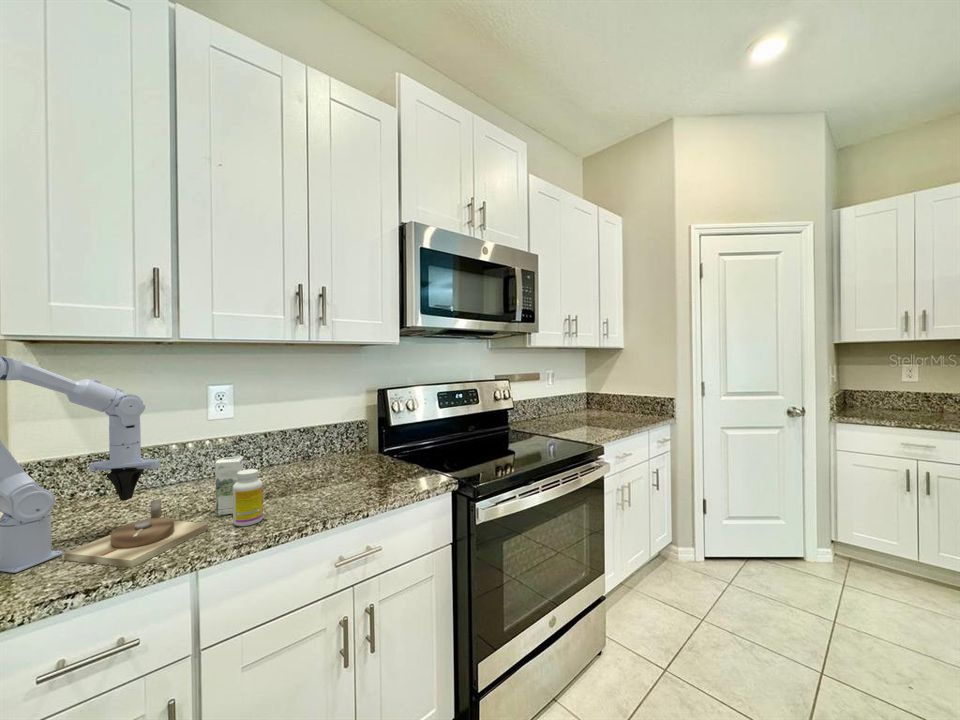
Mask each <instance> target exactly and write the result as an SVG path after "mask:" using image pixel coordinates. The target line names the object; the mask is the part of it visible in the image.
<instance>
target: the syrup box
mask: <svg viewBox="0 0 960 720" xmlns="http://www.w3.org/2000/svg"><path fill="white" fill-rule="evenodd" d="M214 466H215V467H214V470H215V472H214V473H215V475H214V476H215V516H216V517H221V515H222V516H229V515H228V514H231V515H233V485H234V484H235V483H236V482H238V479H237V472H239V471H242V470H244V456H241V455H240V456H231V457H229V456H227V457H220V458H218V459H217V460H216V461H215V463H214Z"/></svg>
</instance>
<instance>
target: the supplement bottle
mask: <svg viewBox="0 0 960 720" xmlns="http://www.w3.org/2000/svg"><path fill="white" fill-rule="evenodd" d="M258 476H259V470H258V469H254V468H251V469H250V468H249V469H243V470H242V471H239V472H237V479H238V482H236V483H235V484H234V485H233V514H232V523H233V524H234V525H235V526H237V527H247V526H251V525H255V524H258V523H259V522H260V523H261V521H262V520H263V518H264V497H263V496H264V494H263V493H264V492H263V491H264V490H263V488H264V487H263V481H262V480H261V479H259V478H258Z"/></svg>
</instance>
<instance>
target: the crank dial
mask: <svg viewBox="0 0 960 720" xmlns="http://www.w3.org/2000/svg"><path fill="white" fill-rule="evenodd" d="M174 521H175V520H174V519H173V518H171V517H165V516H164V517H162V499H154V500H151V501H150V518H145V519H141V520H136V521H133V522H130V523H126V524H123V525H122V526H120V527H117V528H115V529H114V530H112V531H111V532H110V535H111V545H112V546H113V547H119V548H124V547H134V546H140V545H144V544H148V543H152V542H155V541H158V540H160V539H163V538H165V537H167V536H169V535H170V534H172V533H173V532H174Z"/></svg>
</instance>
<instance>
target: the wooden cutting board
mask: <svg viewBox="0 0 960 720" xmlns="http://www.w3.org/2000/svg"><path fill="white" fill-rule="evenodd" d="M206 530H207V531H209V523H204V522H194V521H193V522H192V521H183V520H182V521H181V520H174V532H173V533H172V534H170V535H169V536H167V537H165V538H163V539H160V540H158V541H155V542H152V543H148V544H144V545H140V546H134V547H124V548H119V547H113V546H112V545H111V534H109V535H107V536H104V537H101V538H99V539H96V540H94V541H91V542H88V543H86V544H83V545H82V546H78V547H76V548H74V549H71V550H68V551H66V552H63V554H64V557H63V558H64V561H68V562H76V561H77V563H84V562H85V563H86V564H93V563H99V564H98V565H102V564H111V565H117V566H116V567H119V566H121V568H129V569H130V568H131V569H132V568H134V567H136V566H137V565H140V564H142V563H143V562H147V561H148V560H150V559H153V558H154V557H156V556H158V555H161V554H162V553H164V552H167V551H168V550H171V549H172V548H174V547H176V546H178V544H179V545H180V543H181V544H182V542H183V543H184V541H185V542H187V541H189V540H190V538H191V539H193V538H195V537H196V535H197V536H199V535H200V533H201V534H202V532H203V533H205V532H206ZM204 531H205V532H204ZM198 534H199V535H198ZM186 540H187V541H186ZM111 565H110V566H111Z"/></svg>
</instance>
